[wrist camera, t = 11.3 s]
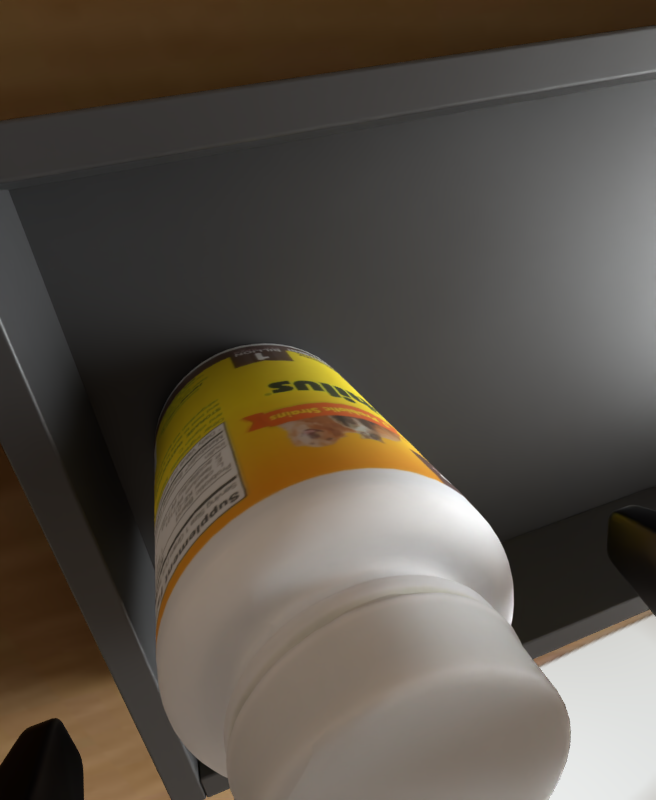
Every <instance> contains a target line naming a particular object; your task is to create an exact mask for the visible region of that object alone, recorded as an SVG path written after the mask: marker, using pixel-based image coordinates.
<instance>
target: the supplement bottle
mask: <svg viewBox="0 0 656 800" xmlns="http://www.w3.org/2000/svg"><path fill="white" fill-rule="evenodd" d="M154 515H155V518H154V520H155V533H154V535H155V591H156V599H155V612H156V664H157V674H158V685H159V690H160V695H161V699H162V703H163V707H164V709H165V712H166V714H167V717H168V719H169V721H170V723H171V725H172V727H173V729H174V731H175V733H176V734H177V736H178V737H179V738H180V740H181V741H182V743H183V744H184V745H185V747H186V748H187V749H188V750H189V751H190V752H191V753H192V754H193V755H194V756H195V757H196V758H197V759H198V760H200V761H201V762H202V763H203V764H205V765H206V766H208V767H209V768H211V769H212V770H214V771H215V772H217V773H219V774H220V775H222V776H224V777H226V778H228V782H229V787H230V790H231V792H232V794H233V796H234V800H549V798H550V796H551V795H552V793H553V791H554V789H555V787H556V786H557V784H558V781H559V780H560V777H561V774H562V771H563V769H564V767H565V764H566V761H567V757H568V753H569V748H570V734H571V731H570V720H569V716H568V713H567V710H566V707H565V704H564V702H563V700H562V698H561V697H560V695H559V693H558V691H557V690H556V689H555V687H554V686H553V685H552V683H551V682H550V681H549V680H548V678H547V677H546V676H545V674H544V673H543V672H542V671H541V669H540V668H539V667H538V666H537V664H536V663H535V662H534V660H533V659H532V658H531V656H530V655H529V654H528V653H527V651H526V650H525V649H524V647H523V646H522V645H521V642H520V640H519V638H518V636H517V634H516V633H515V631H514V629H513V627H512V626H511V623H512V618H513V607H514V590H513V580H512V574H511V570H510V566H509V562H508V559H507V556H506V553H505V551H504V548H503V546H502V544H501V542H500V540H499V538H498V537H497V535H496V534H495V532H494V531H493V529H492V528H491V526H490V525H489V523H488V522H487V521H486V520H485V519H484V518H483V516H482V515H481V514H480V513H479V512H478V511H477V510H476V509H475V508H474V506H473V505H472V504H471V503H470V502H469V501H468V500H467V499H466V498H465V497H464V496H463V495H462V494H461V493H460V492H459V490H458V489H456V488H455V487H454V486H453V485H452V484H451V483H450V482H449V481H448V480H447V479H446V478H445V477H444V476H443V475H442V474H441V473H440V472H439V471H438V470H437V469H436V468H435V467H434V466H432V465H431V464H430V463H429V462H428V461H427V460H426V459H425V458H424V457H423V456H422V455H421V454H420V453H419V452H418V451H417V450H416V449H415V448H414V446H412V445H411V444H410V443H409V442H408V441H407V440H406V439H405V438H404V437H403V436H402V435H401V434H400V433H399V432H398V431H397V430H396V429H395V428H394V427H393V426H392V425H391V424H389V423H388V422H387V421H386V420H385V418H384V417H383V416H382V415H381V414H380V413H378V412H377V411H376V410H375V409H374V408H373V407H372V406H371V405H370V404H369V403H368V402H367V401H366V400H365V399H364V398H363V397H362V396H361V395H360V394H359V393H358V392H357V391H356V390H355V389H354V388H353V387H352V386H351V385H350V384H349V383H348V382H347V381H346V380H345V379H344V378H343V377H342V376H341V375H340V374H339V373H337V372H336V371H335V370H334V369H333V368H332V367H331V366H329V365H328V364H327V363H325V362H324V361H322V360H321V359H320V358H318V357H316V356H314V355H312V354H310V353H308V352H306V351H303V350H300V349H297V348H294V347H291V346H286V345H280V344H266V343H262V344H250V345H243V346H238V347H234V348H231V349H228V350H225V351H223V352H220V353H218V354H216V355H214V356H212V357H210V358H209V359H207V360H205V361H204V362H202V363H201V364H199V365H198V366H197V367H195V368H194V369H193V370H192V371H190V372H189V373H188V374H187V375H186V376H185V377H184V378H183V379H182V380H181V381H180V382H179V384H178V385H177V386H176V387H175V389H174V390H173V391H172V393H171V394H170V396H169V398H168V399H167V401H166V403H165V405H164V407H163V410H162V412H161V414H160V417H159V421H158V424H157V428H156V433H155V440H154Z"/></svg>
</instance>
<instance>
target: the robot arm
mask: <svg viewBox="0 0 656 800" xmlns="http://www.w3.org/2000/svg"><path fill="white" fill-rule="evenodd" d="M607 554H608V556H609V559H610V560H611V562H612V564H613V565H614V566H615V567H616V569H617V570H618V571H619V572H620V574H621V575H622V576H623V577H624V578H625V580H626V581H627V582H628V583H629V585H630V586H631V587H632V588H633V589H634V591H635V592H636V593H637V594H638V596H639V597H640V598H641V599H642V600H643V602H644V603H645V604H646V605H647V606H648V608H649V609H650V610H651V611H652V613H653V614H654V615H655V616H656V510H652V509H649V508H645V507H641V506H637V505H629V506H626V507H623V508H621V509H618V510H615V511H613V512H612V513H611V514H610V516H609V519H608V533H607ZM0 800H84V783H83V764H82V759H81V756H80V754H79V751H78V750H77V748H76V746H75V744H74V743H73V741H72V739H71V737H70V735H69V734H68V732H67V730H66V728H65V727H64V725H63V723H62V722H61V721H60V720H59V719H57V718H54V719H50V720H47V721H44V722H42V723H39V724H36V725H34V726H31V727H29V728H27V729H26V730H24V732H23V733H22V734H21V735H20V736H19V738H18V739H17V741H16V742H15V744H14V745H13V747H12V748H11V750H10V751H9V753H8V754H7V756H6V757H5V759H4V761H3V762H2V764H1V765H0Z"/></svg>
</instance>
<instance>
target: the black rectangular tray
mask: <svg viewBox="0 0 656 800" xmlns="http://www.w3.org/2000/svg"><path fill="white" fill-rule="evenodd" d="M262 343H266V344H280V345H286V346H291V347H294V348H297V349H300V350H303V351H306V352H308V353H310V354H312V355H314V356H316V357H318V358H320V359H321V360H322V361H324V362H325V363H327V364H328V365H329V366H331V367H332V368H333V369H334V370H335V371H336V372H337V373H339V374H340V375H341V376H342V377H343V378H344V379H345V380H346V381H347V382H348V383H349V384H350V385H351V386H352V387H353V388H354V389H355V390H356V391H357V392H358V393H359V394H360V395H361V396H362V397H363V398H364V399H365V400H366V401H367V402H368V403H369V404H370V405H371V406H372V407H373V408H374V409H375V410H376V411H377V412H378V413H380V414H381V415H382V416H383V417H384V418H385V420H386V421H387V422H388V423H389V424H391V425H392V426H393V427H394V428H395V429H396V430H397V431H398V432H399V433H400V434H401V435H402V436H403V437H404V438H405V439H406V440H407V441H408V442H409V443H410V444H411V445H412V446H414V448H415V449H416V450H417V451H418V452H419V453H420V454H421V455H422V456H423V457H424V458H425V459H426V460H427V461H428V462H429V463H430V464H431V465H432V466H434V467H435V468H436V469H437V470H438V471H439V472H440V473H441V474H442V475H443V476H444V477H445V478H446V479H447V480H448V481H449V482H450V483H451V484H452V485H453V486H454V487H455V488H456V489H458V490H459V492H460V493H461V494H462V495H463V496H464V497H465V498H466V499H467V500H468V501H469V502H470V503H471V504H472V505H473V506H474V508H475V509H476V510H477V511H478V512H479V513H480V514H481V515H482V516H483V518H484V519H485V520H486V521H487V522H488V523H489V525H490V526H491V528H492V529H493V531H494V532H495V534H496V535H497V537H498V538H499V540H500V542H501V544H502V546H503V548H504V551H505V553H506V556H507V559H508V562H509V566H510V570H511V574H512V580H513V590H514V607H513V618H512V623H511V626H512V627H513V629H514V631H515V633H516V634H517V636H518V638H519V640H520V642H521V645H522V646H523V647H524V649H525V650H526V651H527V653H528V654H529V655H530V656H531V658H532V659H534V658H537V657H539V656H542V655H544V654H546V653H549V652H551V651H553V650H556V649H558V648H560V647H563V646H565V645H567V644H570V643H572V642H574V641H577V640H579V639H581V638H584V637H586V636H588V635H591V634H593V633H596V632H598V631H600V630H603V629H605V628H607V627H610V626H612V625H614V624H617V623H619V622H621V621H624V620H626V619H628V618H631V617H633V616H635V615H638V614H640V613H642V612H645V611H647V610H649V608H648V606H647V605H646V604H645V603H644V602H643V600H642V599H641V598H640V597H639V596H638V594H637V593H636V592H635V591H634V589H633V588H632V587H631V586H630V585H629V583H628V582H627V581H626V580H625V578H624V577H623V576H622V575H621V574H620V572H619V571H618V570H617V569H616V567H615V566H614V565H613V564H612V562H611V560H610V559H609V556H608V554H607V533H608V519H609V516H610V514H611V513H612V512H613V511H615V510H618V509H621V508H623V507H626V506H629V505H637V506H641V507H645V508H649V509H652V510H656V25H652V26H645V27H638V28H631V29H624V30H617V31H611V32H604V33H597V34H590V35H583V36H576V37H570V38H563V39H556V40H549V41H542V42H535V43H529V44H522V45H515V46H508V47H501V48H494V49H488V50H481V51H474V52H467V53H460V54H453V55H447V56H440V57H433V58H426V59H419V60H412V61H405V62H399V63H392V64H385V65H378V66H371V67H364V68H358V69H351V70H344V71H337V72H330V73H323V74H317V75H310V76H303V77H296V78H289V79H282V80H276V81H269V82H262V83H255V84H248V85H241V86H235V87H228V88H221V89H214V90H207V91H200V92H194V93H187V94H180V95H173V96H166V97H159V98H152V99H146V100H139V101H132V102H125V103H118V104H111V105H105V106H98V107H91V108H84V109H77V110H70V111H64V112H57V113H50V114H43V115H36V116H29V117H23V118H16V119H9V120H2V121H0V443H1V445H2V447H3V449H4V451H5V453H6V455H7V457H8V459H9V461H10V463H11V466H12V468H13V470H14V472H15V474H16V476H17V478H18V480H19V482H20V484H21V486H22V489H23V491H24V493H25V495H26V497H27V499H28V501H29V503H30V505H31V507H32V510H33V512H34V514H35V516H36V518H37V520H38V522H39V524H40V526H41V528H42V530H43V533H44V535H45V537H46V539H47V541H48V543H49V545H50V547H51V549H52V551H53V553H54V556H55V558H56V560H57V562H58V564H59V566H60V568H61V570H62V572H63V574H64V576H65V579H66V581H67V583H68V585H69V587H70V589H71V591H72V593H73V595H74V597H75V599H76V602H77V604H78V606H79V608H80V610H81V612H82V614H83V616H84V618H85V620H86V622H87V625H88V627H89V629H90V631H91V633H92V635H93V637H94V639H95V641H96V643H97V645H98V648H99V650H100V652H101V654H102V656H103V658H104V660H105V662H106V664H107V666H108V668H109V671H110V673H111V675H112V677H113V679H114V681H115V683H116V685H117V687H118V689H119V691H120V694H121V696H122V698H123V700H124V702H125V704H126V706H127V708H128V710H129V712H130V714H131V717H132V719H133V721H134V723H135V725H136V727H137V729H138V731H139V733H140V735H141V737H142V740H143V742H144V744H145V746H146V748H147V750H148V752H149V754H150V756H151V758H152V760H153V763H154V765H155V767H156V769H157V771H158V773H159V775H160V777H161V779H162V781H163V783H164V786H165V788H166V790H167V792H168V794H169V796H170V798H171V800H204V799H205V798H206V795H207V797H211V796H213V795H215V794H218V793H220V792H222V791H225V790H227V789H229V788H230V787H229V782H228V778H226V777H224V776H222V775H220V774H219V773H217V772H215V771H214V770H212V769H211V768H209V767H208V766H206V765H205V764H203V763H202V762H201V761H200V760H198V759H197V758H196V757H195V756H194V755H193V754H192V753H191V752H190V751H189V750H188V749H187V748H186V747H185V745H184V744H183V743H182V741H181V740H180V738H179V737H178V736H177V734H176V733H175V731H174V729H173V727H172V725H171V723H170V721H169V719H168V717H167V714H166V712H165V709H164V707H163V703H162V699H161V695H160V690H159V685H158V674H157V664H156V612H155V599H156V591H155V535H154V533H155V520H154V518H155V515H154V440H155V433H156V428H157V424H158V421H159V417H160V414H161V412H162V410H163V407H164V405H165V403H166V401H167V399H168V398H169V396H170V394H171V393H172V391H173V390H174V389H175V387H176V386H177V385H178V384H179V382H180V381H181V380H182V379H183V378H184V377H185V376H186V375H187V374H188V373H189V372H190V371H192V370H193V369H194V368H195V367H197V366H198V365H199V364H201V363H202V362H204V361H205V360H207V359H209V358H210V357H212V356H214V355H216V354H218V353H220V352H223V351H225V350H228V349H231V348H234V347H238V346H243V345H250V344H262Z"/></svg>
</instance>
